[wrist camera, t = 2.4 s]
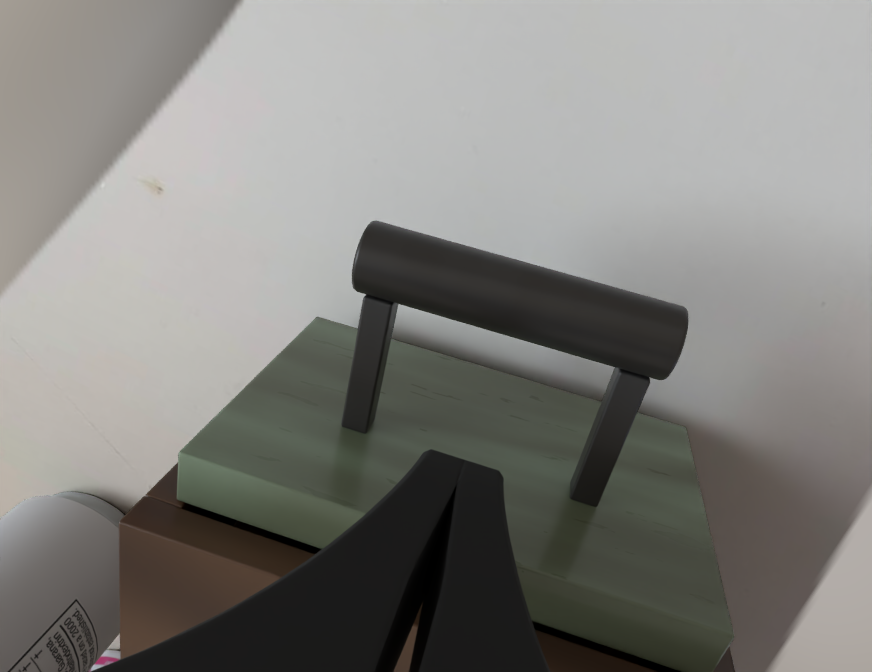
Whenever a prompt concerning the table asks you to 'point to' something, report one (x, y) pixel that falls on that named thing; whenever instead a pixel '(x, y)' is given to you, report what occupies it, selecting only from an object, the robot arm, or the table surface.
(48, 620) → the energy drink can
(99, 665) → the pill bottle
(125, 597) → the cabinet
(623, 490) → the drawer
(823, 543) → the table surface
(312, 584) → the robot arm
